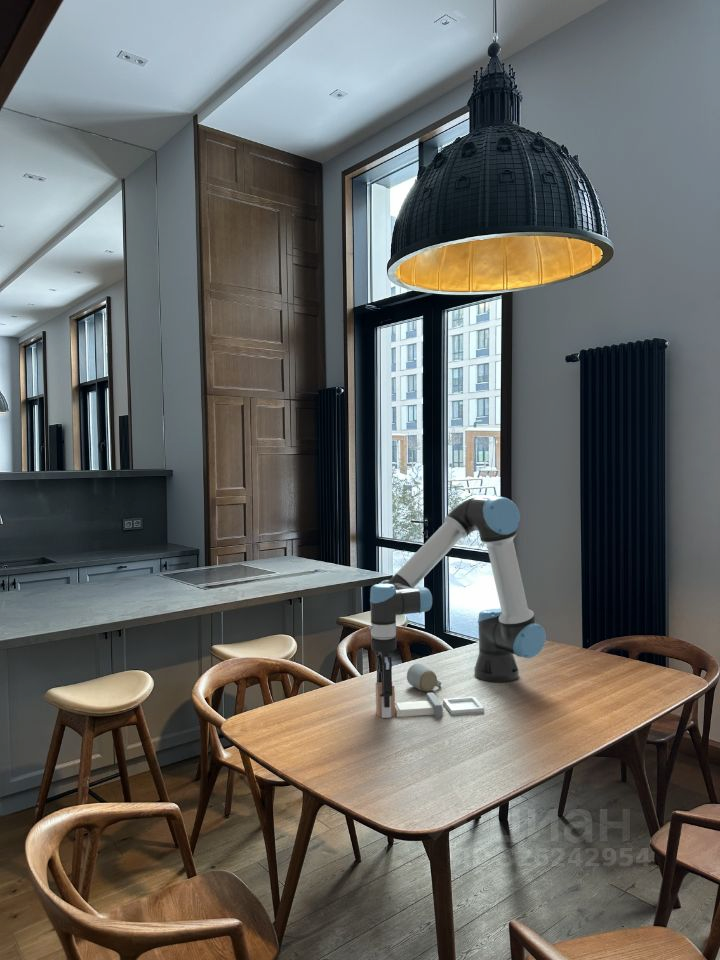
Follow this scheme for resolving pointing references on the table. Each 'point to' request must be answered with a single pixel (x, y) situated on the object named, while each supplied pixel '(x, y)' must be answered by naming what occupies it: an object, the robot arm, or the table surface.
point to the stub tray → (463, 705)
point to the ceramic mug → (422, 677)
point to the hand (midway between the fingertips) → (384, 713)
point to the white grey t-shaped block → (420, 707)
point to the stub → (379, 700)
